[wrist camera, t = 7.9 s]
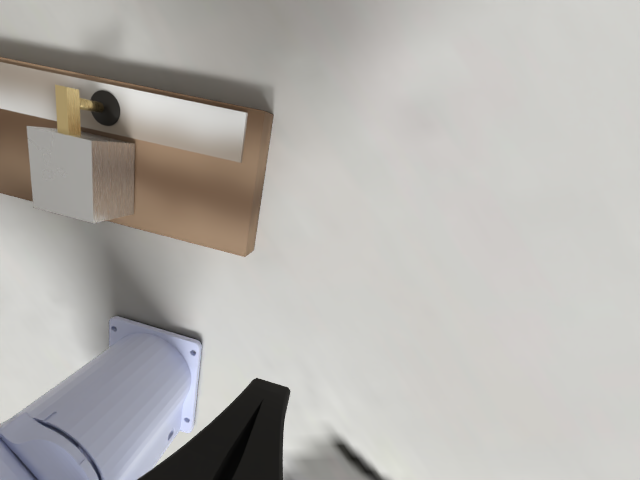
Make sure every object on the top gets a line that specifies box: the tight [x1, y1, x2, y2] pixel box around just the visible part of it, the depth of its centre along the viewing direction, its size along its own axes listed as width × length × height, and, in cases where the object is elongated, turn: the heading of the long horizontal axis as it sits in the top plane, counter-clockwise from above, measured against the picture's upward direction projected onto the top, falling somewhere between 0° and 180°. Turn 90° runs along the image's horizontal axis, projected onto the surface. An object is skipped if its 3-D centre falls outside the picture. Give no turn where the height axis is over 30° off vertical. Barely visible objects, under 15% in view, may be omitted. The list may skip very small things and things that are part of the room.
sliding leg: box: [27, 85, 135, 223], centre depth 18 cm, size 7×4×3 cm, turn 168°
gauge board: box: [0, 57, 273, 257], centre depth 19 cm, size 9×26×4 cm, turn 78°
